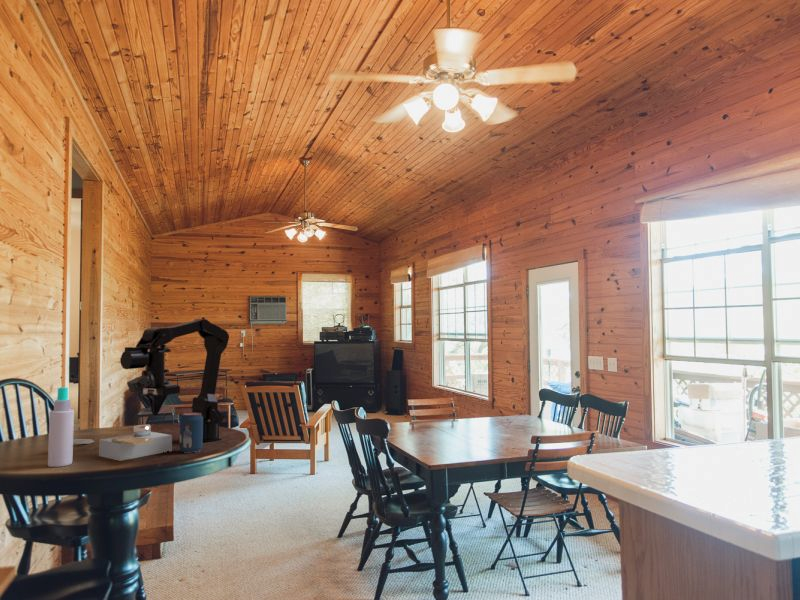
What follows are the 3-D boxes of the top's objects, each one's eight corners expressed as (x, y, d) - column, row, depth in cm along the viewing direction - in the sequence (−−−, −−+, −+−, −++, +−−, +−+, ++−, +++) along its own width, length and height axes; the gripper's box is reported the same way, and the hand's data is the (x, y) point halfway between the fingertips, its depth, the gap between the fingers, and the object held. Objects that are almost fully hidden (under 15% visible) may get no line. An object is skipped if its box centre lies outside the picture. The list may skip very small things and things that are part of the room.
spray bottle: (76, 462, 161) (79, 386, 163) (63, 467, 155) (66, 388, 157) (56, 462, 161) (59, 386, 163) (42, 467, 155) (45, 388, 157)
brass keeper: (132, 438, 171) (132, 436, 171) (153, 441, 165) (153, 439, 165) (113, 441, 166) (113, 439, 166) (133, 444, 160) (133, 442, 160)
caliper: (52, 455, 173) (53, 435, 173) (49, 455, 173) (50, 434, 173) (94, 442, 193) (95, 424, 194) (91, 442, 193) (92, 424, 194)
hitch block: (150, 446, 184) (150, 428, 185) (171, 450, 177) (172, 432, 178) (98, 455, 170) (99, 436, 171) (119, 460, 163) (120, 440, 164)
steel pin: (144, 448, 181) (145, 424, 181) (153, 449, 178) (153, 425, 179) (129, 450, 177) (130, 426, 177) (138, 452, 174) (139, 427, 174)
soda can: (199, 448, 182) (200, 411, 182) (204, 451, 176) (205, 413, 177) (177, 450, 178) (178, 413, 179) (181, 454, 172) (182, 415, 173)
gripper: (114, 367, 177) (114, 416, 176) (148, 369, 167) (148, 421, 166) (147, 365, 186) (147, 411, 186) (181, 366, 176) (181, 416, 176)
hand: (155, 415), depth 178 cm, fingers closed
